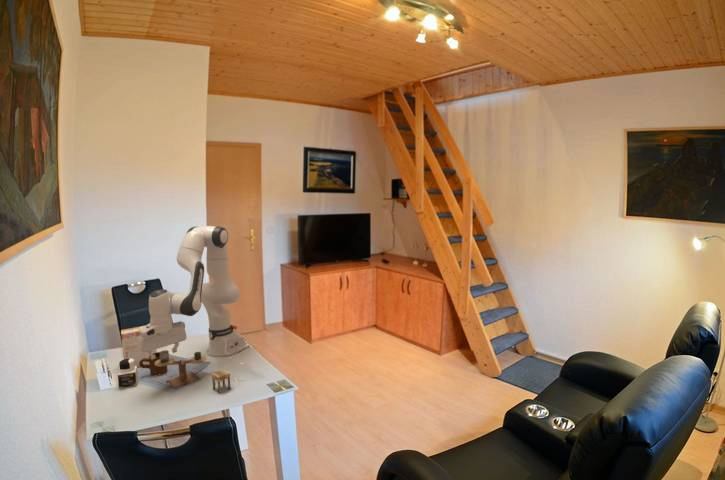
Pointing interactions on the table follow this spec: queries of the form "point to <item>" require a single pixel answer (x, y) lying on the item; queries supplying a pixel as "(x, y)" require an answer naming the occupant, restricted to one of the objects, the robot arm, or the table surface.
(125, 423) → the table surface
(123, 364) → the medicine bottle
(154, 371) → the mug
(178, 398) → the table surface
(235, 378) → the beige angular frame
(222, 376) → the tan peg block
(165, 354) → the grey domed cylinder
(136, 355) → the coffeecake box
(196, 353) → the balance
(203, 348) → the table surface
